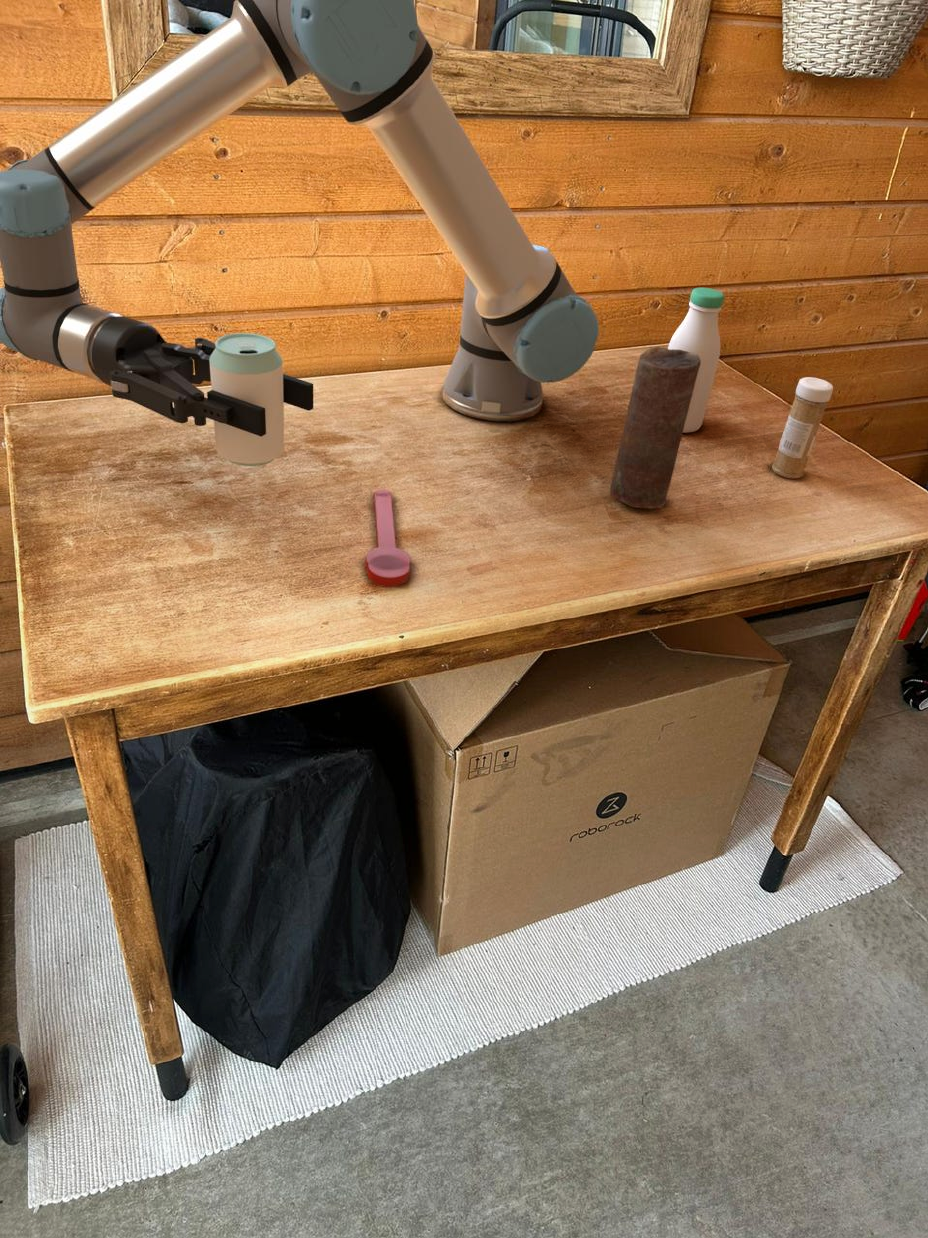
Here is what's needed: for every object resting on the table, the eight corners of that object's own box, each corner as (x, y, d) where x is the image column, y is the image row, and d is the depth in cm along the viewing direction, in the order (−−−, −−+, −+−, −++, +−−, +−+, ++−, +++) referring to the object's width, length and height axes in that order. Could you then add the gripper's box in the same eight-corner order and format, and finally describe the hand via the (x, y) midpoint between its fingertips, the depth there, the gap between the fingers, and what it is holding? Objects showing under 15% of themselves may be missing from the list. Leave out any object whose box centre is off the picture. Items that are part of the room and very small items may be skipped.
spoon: (361, 495, 116) (362, 486, 115) (402, 496, 116) (402, 487, 116) (366, 586, 100) (366, 577, 99) (412, 587, 101) (413, 578, 100)
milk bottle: (703, 419, 145) (738, 289, 133) (697, 438, 139) (733, 304, 127) (655, 408, 147) (685, 279, 135) (646, 426, 141) (677, 293, 129)
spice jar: (809, 476, 132) (841, 386, 124) (788, 482, 130) (819, 391, 122) (784, 462, 135) (814, 373, 127) (763, 468, 133) (792, 378, 125)
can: (298, 453, 99) (297, 343, 92) (252, 476, 94) (247, 362, 87) (248, 432, 102) (243, 324, 95) (201, 454, 97) (192, 342, 90)
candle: (650, 523, 117) (688, 370, 105) (598, 503, 120) (629, 353, 108) (672, 500, 123) (711, 353, 111) (622, 482, 125) (654, 336, 113)
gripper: (182, 358, 110) (344, 412, 102) (46, 413, 95) (223, 481, 87) (177, 293, 105) (345, 345, 98) (33, 341, 91) (218, 406, 83)
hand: (287, 409), depth 92 cm, fingers closed on can, 7 cm apart
